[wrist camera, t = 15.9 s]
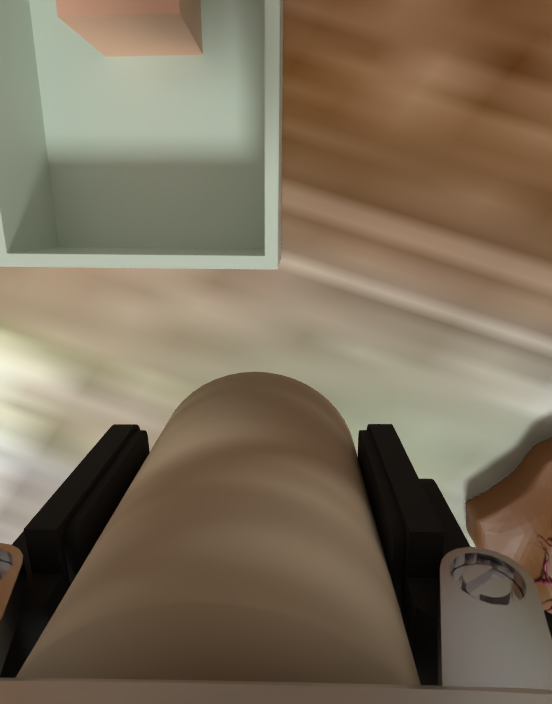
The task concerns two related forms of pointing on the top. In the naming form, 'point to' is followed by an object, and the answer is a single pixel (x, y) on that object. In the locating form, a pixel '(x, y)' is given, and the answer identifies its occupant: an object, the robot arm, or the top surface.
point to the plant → (520, 518)
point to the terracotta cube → (136, 26)
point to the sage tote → (141, 145)
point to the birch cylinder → (237, 555)
